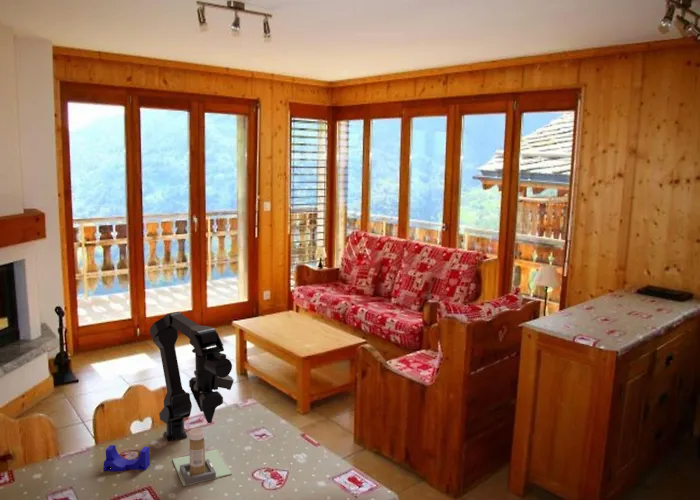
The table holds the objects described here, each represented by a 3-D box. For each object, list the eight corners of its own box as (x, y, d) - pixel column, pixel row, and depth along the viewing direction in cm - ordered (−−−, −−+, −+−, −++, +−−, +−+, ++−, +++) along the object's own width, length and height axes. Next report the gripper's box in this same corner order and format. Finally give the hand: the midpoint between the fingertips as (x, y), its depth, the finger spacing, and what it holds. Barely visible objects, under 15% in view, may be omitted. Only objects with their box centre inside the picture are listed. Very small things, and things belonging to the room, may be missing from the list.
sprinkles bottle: (207, 469, 167) (206, 427, 165) (202, 478, 162) (202, 434, 160) (192, 469, 167) (191, 426, 165) (187, 477, 162) (186, 434, 160)
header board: (172, 460, 173) (172, 453, 172) (217, 450, 179) (217, 443, 179) (183, 486, 158) (183, 479, 158) (231, 475, 165) (231, 467, 165)
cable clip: (104, 471, 166) (103, 452, 165) (111, 463, 170) (110, 445, 169) (143, 473, 165) (143, 454, 164) (149, 465, 170) (149, 446, 169)
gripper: (239, 374, 167) (239, 424, 169) (222, 356, 183) (223, 401, 186) (202, 380, 162) (203, 431, 164) (188, 360, 178) (189, 407, 180)
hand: (205, 416), depth 174 cm, fingers open, 9 cm apart
